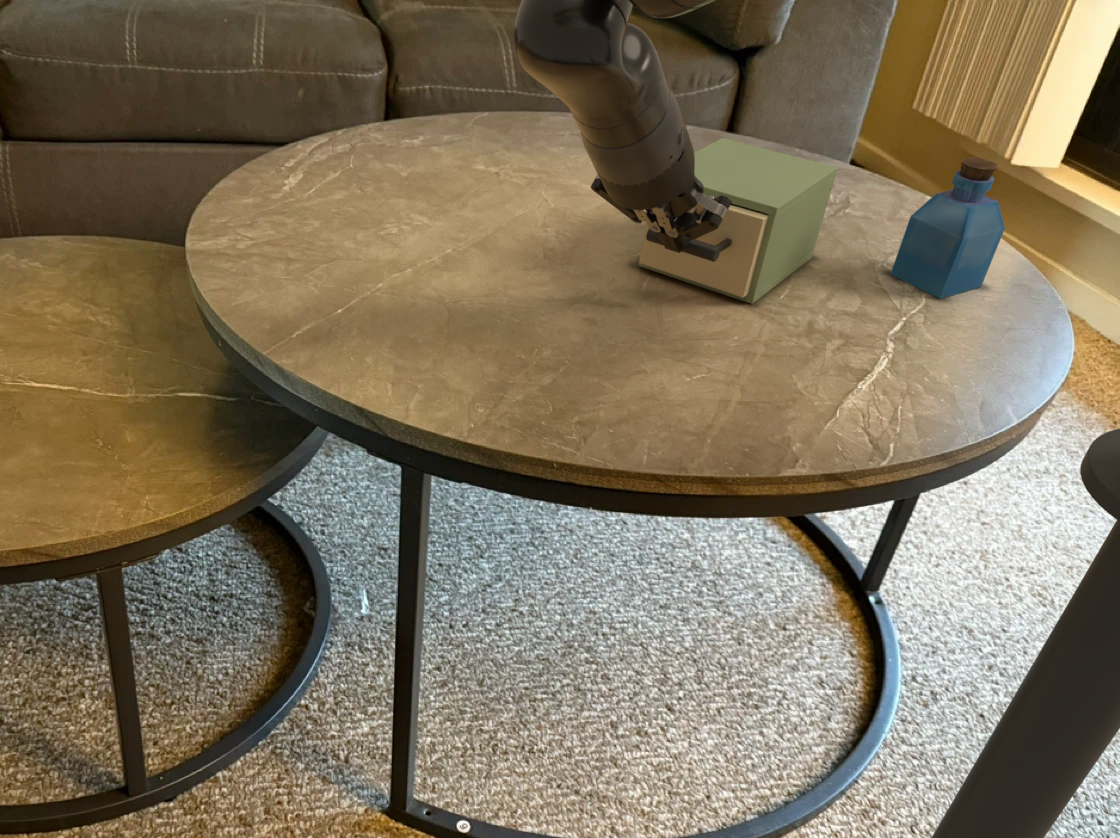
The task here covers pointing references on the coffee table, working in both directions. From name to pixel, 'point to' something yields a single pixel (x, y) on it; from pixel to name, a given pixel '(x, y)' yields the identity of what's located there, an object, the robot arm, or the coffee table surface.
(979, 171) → the perfume bottle
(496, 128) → the coffee table surface
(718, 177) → the cabinet
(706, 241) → the drawer
